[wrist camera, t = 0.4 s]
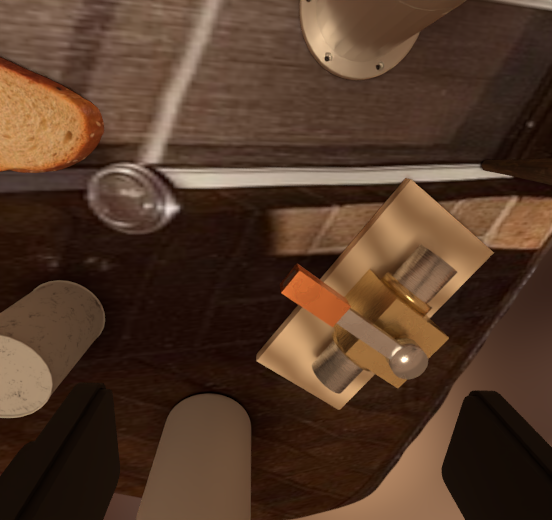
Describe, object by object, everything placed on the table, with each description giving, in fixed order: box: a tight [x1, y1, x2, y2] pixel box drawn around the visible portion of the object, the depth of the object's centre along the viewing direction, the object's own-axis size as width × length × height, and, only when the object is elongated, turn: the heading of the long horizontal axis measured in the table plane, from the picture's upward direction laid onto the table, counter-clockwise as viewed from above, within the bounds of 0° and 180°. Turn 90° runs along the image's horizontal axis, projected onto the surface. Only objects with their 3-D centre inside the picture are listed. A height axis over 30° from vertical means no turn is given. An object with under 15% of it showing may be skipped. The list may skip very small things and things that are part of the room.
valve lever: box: [280, 264, 428, 379], centre depth 32 cm, size 17×4×2 cm, turn 52°
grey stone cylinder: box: [0, 280, 105, 418], centre depth 37 cm, size 10×10×12 cm
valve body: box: [312, 244, 457, 394], centre depth 39 cm, size 20×8×10 cm, turn 143°
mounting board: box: [257, 178, 494, 410], centre depth 45 cm, size 30×15×2 cm, turn 143°
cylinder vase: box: [136, 393, 251, 520], centre depth 39 cm, size 12×12×25 cm
